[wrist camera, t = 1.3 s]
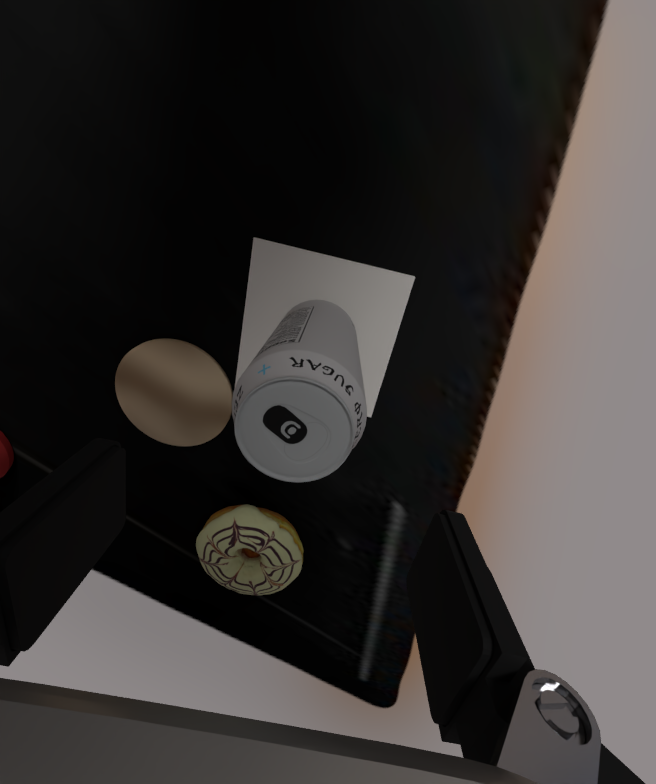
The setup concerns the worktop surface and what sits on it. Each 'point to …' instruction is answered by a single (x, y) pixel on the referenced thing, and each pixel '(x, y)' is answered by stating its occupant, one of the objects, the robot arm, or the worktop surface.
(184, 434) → the cork coaster
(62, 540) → the robot arm
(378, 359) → the tile
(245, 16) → the worktop surface
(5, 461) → the canned food
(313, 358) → the energy drink can
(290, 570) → the decorated donut
